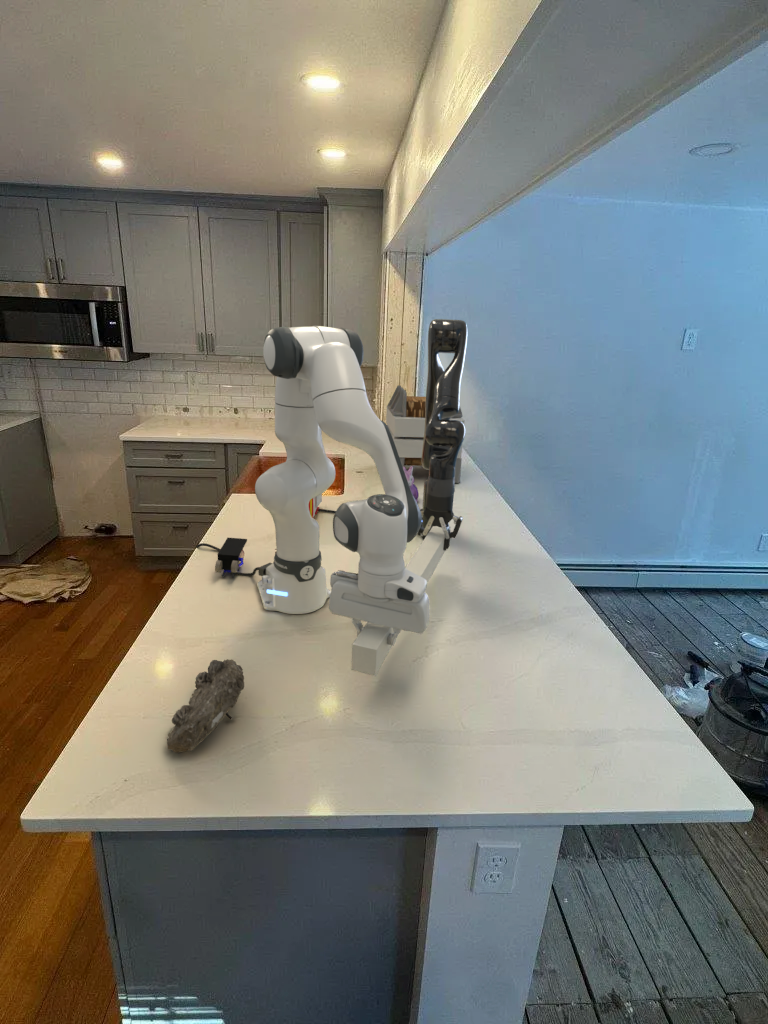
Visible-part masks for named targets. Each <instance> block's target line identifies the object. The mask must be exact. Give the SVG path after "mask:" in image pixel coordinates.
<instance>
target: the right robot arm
mask: <svg viewBox="0 0 768 1024" xmlns="http://www.w3.org/2000/svg"><path fill="white" fill-rule="evenodd" d="M427 333H428V334H427V378H426V389H425V397H426V402H425V430H424V439H423V447H422V458H421V461H422V466H421V467H422V468H423V470H426V471H428V477H427V479H425V480H424V482H423V493H422V496H423V497H422V506H421V508H420V511H421V515H422V524H421V527H420V529H419V531H418V533H417V535H418V536H420V538H421V539H422V541H421V543H422V542H423V540H424V539H425V537H426V536H427V534H428V533H429V531H430V530H431V528H432V527H433V526H438V527H441V528H442V530H443V532H444V535H445V539H444V548H443V550H444V551H445V552H446V551H447V550H448V549H449V547H450V545H451V539H455V538H457V535H458V533H459V531H460V528H461V525H462V523H463V519H464V518H463V517H464V516H461V515H460V516H457V515H455V514H454V509H453V508H454V496H455V492H456V491H455V489H456V488H455V481H454V477H455V466H456V460H457V456H458V453H459V450H460V447H461V445H462V446H463V442H464V440H465V437H466V426H465V423H464V424H463V423H462V422H461V421H458V420H449V419H450V418H451V417H453V416H455V415H456V414H457V413H458V412H459V405H460V403H461V402H460V398H461V383H462V376H463V371H464V365H465V358H466V352H467V345H468V325H467V322H466V321H464V320H463V319H447V318H444V319H443V318H434V319H432V320H431V321H430V322H429V326H428V332H427ZM440 354H453V357H452V360H451V361H450V363H449V364H448V366H447V367H446V368H445V370H444V366H443V364H442V362H441V358H440ZM318 512H322V513H327V514H328V513H329V514H335V512H336V510H333V509H332V510H331V509H323V508H319V509H318ZM452 520H453V524H454V525H455V526H454V528H453V531H451V528H450V527H451V526H450V524H449V523H450V522H451V521H452Z"/></svg>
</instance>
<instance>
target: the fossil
mask: <svg viewBox="0 0 768 1024" xmlns="http://www.w3.org/2000/svg"><path fill="white" fill-rule="evenodd" d="M243 670H244V669H243V667H242V665H240V664H237V662H236V661H235V660H234V659H232V658H231V659H227V658H226V659H224V660H223V661H222V660H217V659H212V660H211V661H210V663H209V665H208V666H207V671H201V672H199V673H198V674H197V675H196V676H195V680H194V684H195V685H194V687H195V689H194V690H193V693H192V694H191V697H190V698H189V700H188V704H184V705H182V706H181V707H180V709H177V710H176V711H175V713H174V715H173V716H172V718H171V723H172V724H173V727H172V730H171V731H170V732H168V734H167V738H166V741H167V742H166V745H167V749H168V750H169V751H173V752H174V753H176V754H178V753H182V752H188V751H189V752H192V751H193V750H195V748H196V747H197V746H199V744H200V743H201V742H203V741H204V740H205V739H206V738H207V737H208V736H209V735H210V734H211V733H212V732H214V730H215V729H217V727H218V726H219V724H220V722H221V721H222V720H223V719H224V718H225V716H226V717H227V719H229V720H233V717H232V715H230V714H229V710H230V709H231V708H234V706H235V704H236V703H237V702H238V699H239V697H240V695H241V693H242V691H243V690H245V689H244V688H245V675H244V671H243Z"/></svg>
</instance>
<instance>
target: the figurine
mask: <svg viewBox="0 0 768 1024" xmlns="http://www.w3.org/2000/svg"><path fill="white" fill-rule="evenodd" d="M403 469H404V472H405V475H406V478H407V481H408V484H409V487H410V490H411V492H412V494H413V496H414V498H415V500H416V502H417V503H418V500H419V496H420V495H419V494H420V493H419V490H418V487H417V486H416V484H415V478H414V476H413V471H414V466H410V467H408V469H407V468H406V467H405V466H404V467H403Z"/></svg>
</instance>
